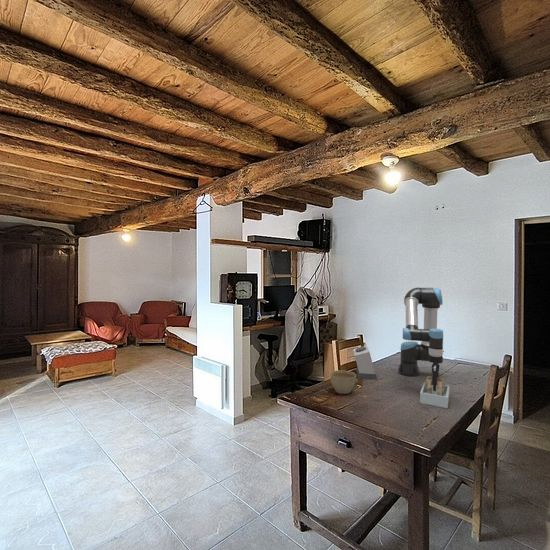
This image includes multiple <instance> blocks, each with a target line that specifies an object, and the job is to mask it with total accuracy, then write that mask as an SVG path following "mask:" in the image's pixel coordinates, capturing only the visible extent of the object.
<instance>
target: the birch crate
mask: <svg viewBox="0 0 550 550" xmlns="http://www.w3.org/2000/svg"><path fill="white" fill-rule="evenodd" d="M425 382H426V393H428V394H432V385H431V383H432V375H427V376H426V379H425ZM433 383H434V382H433ZM444 385H445V378H443V377H437V395H440V396H444Z"/></svg>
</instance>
